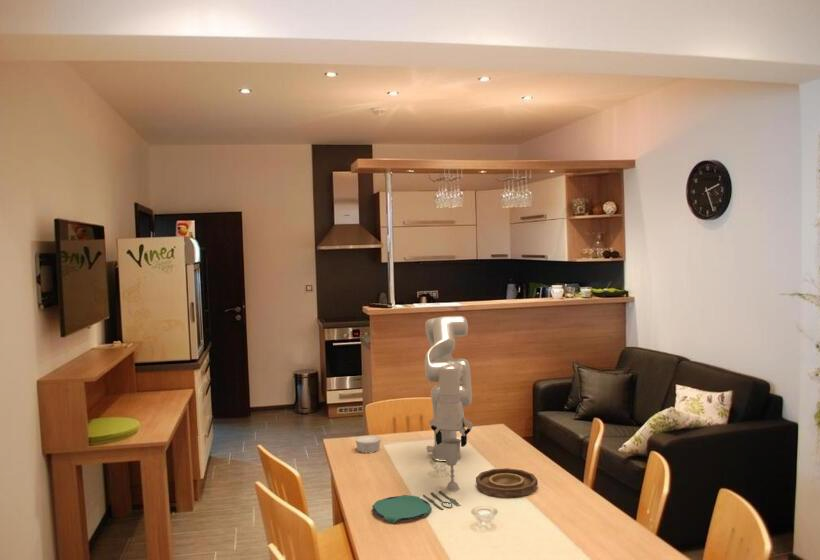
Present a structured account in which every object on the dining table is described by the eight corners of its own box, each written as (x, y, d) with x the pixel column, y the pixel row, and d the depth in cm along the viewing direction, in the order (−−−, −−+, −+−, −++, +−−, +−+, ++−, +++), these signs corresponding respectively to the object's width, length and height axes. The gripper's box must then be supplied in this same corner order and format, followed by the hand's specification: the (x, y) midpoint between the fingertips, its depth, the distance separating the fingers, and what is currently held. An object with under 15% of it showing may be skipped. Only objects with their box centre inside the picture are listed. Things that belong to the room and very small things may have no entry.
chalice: (462, 485, 241) (461, 438, 240) (462, 492, 234) (460, 443, 233) (443, 485, 242) (441, 438, 241) (442, 492, 235) (440, 443, 234)
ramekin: (352, 449, 291) (352, 437, 291) (375, 445, 295) (375, 433, 295) (361, 455, 281) (360, 443, 280) (384, 451, 285) (384, 439, 285)
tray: (468, 493, 233) (468, 485, 233) (488, 473, 253) (487, 465, 253) (527, 501, 223) (527, 493, 223) (543, 480, 243) (542, 472, 243)
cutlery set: (364, 507, 224) (364, 501, 224) (439, 492, 237) (439, 486, 237) (386, 529, 206) (386, 522, 206) (467, 511, 219) (467, 505, 219)
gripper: (424, 399, 237) (425, 445, 237) (468, 402, 229) (469, 449, 230) (432, 395, 243) (434, 440, 244) (475, 398, 236) (476, 444, 236)
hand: (451, 444), depth 237 cm, fingers open, 9 cm apart
